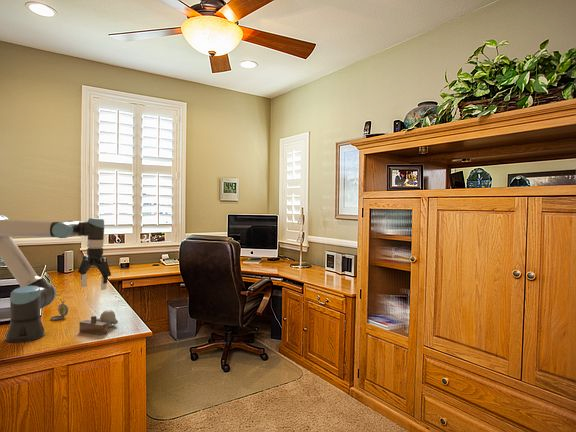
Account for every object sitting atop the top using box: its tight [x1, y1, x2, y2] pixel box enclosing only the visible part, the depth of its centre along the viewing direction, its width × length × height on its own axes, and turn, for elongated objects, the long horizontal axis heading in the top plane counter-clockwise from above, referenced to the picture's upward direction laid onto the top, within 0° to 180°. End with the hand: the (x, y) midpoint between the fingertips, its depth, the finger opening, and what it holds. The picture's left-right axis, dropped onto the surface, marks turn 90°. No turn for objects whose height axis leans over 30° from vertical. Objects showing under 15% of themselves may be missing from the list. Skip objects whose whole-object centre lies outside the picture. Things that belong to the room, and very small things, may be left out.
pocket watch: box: [50, 300, 69, 321], centre depth 209 cm, size 8×8×10 cm
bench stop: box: [79, 315, 109, 336], centre depth 187 cm, size 4×14×8 cm, turn 71°
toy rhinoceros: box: [96, 309, 119, 329], centre depth 195 cm, size 7×12×8 cm, turn 123°
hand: (93, 288), depth 196 cm, fingers open, 13 cm apart
